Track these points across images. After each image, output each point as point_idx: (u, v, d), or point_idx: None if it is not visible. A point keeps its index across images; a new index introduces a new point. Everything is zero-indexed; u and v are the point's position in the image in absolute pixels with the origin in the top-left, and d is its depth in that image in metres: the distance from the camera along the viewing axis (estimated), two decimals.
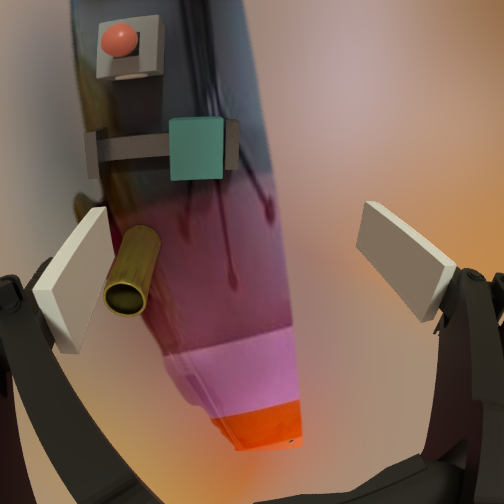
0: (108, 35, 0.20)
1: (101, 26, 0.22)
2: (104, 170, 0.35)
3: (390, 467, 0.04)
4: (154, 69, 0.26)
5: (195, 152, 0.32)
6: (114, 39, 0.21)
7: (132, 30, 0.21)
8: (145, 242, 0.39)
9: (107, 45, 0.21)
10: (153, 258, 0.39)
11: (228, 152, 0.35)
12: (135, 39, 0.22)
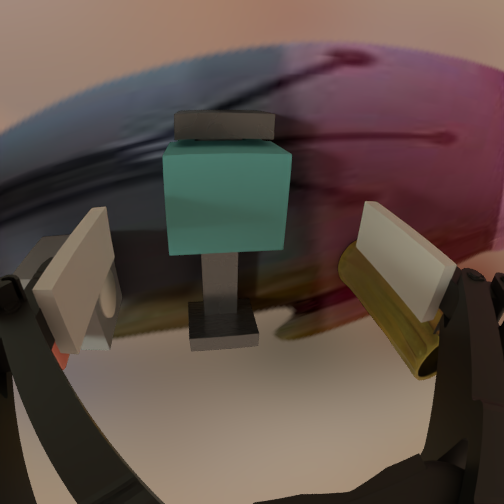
0: None
1: None
2: (250, 316, 0.27)
3: (390, 467, 0.04)
4: None
5: (232, 206, 0.17)
6: None
7: None
8: (369, 273, 0.25)
9: None
10: None
11: (238, 132, 0.17)
12: None
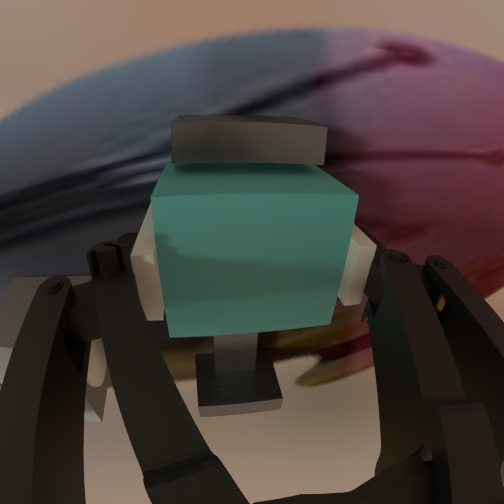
0: None
1: None
2: (271, 374, 0.21)
3: (390, 467, 0.04)
4: None
5: (263, 274, 0.11)
6: None
7: None
8: None
9: None
10: None
11: (272, 153, 0.11)
12: None
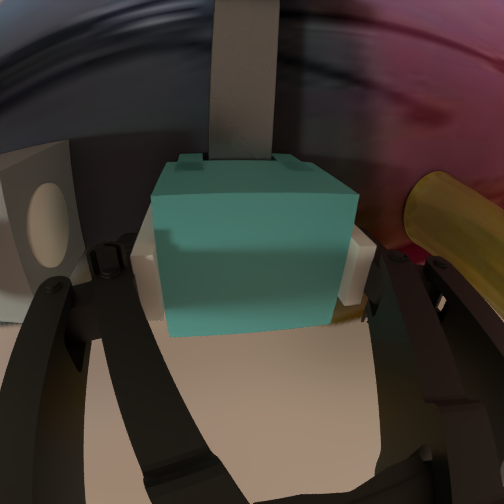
0: None
1: None
2: None
3: (390, 467, 0.04)
4: None
5: (264, 273, 0.11)
6: None
7: None
8: (458, 211, 0.14)
9: None
10: (491, 205, 0.13)
11: None
12: None
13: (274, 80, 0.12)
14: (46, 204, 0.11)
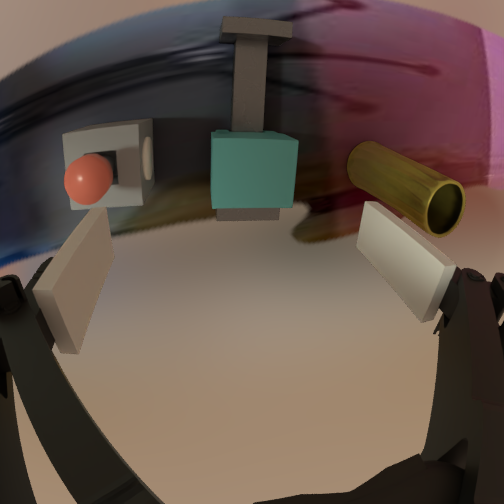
0: (79, 195, 0.19)
1: (75, 206, 0.23)
2: None
3: (390, 467, 0.04)
4: (137, 126, 0.21)
5: (257, 175, 0.24)
6: (85, 186, 0.19)
7: (73, 163, 0.18)
8: (373, 159, 0.28)
9: (92, 194, 0.19)
10: (395, 154, 0.26)
11: (267, 31, 0.20)
12: (87, 156, 0.18)
13: (264, 93, 0.26)
14: (148, 146, 0.24)
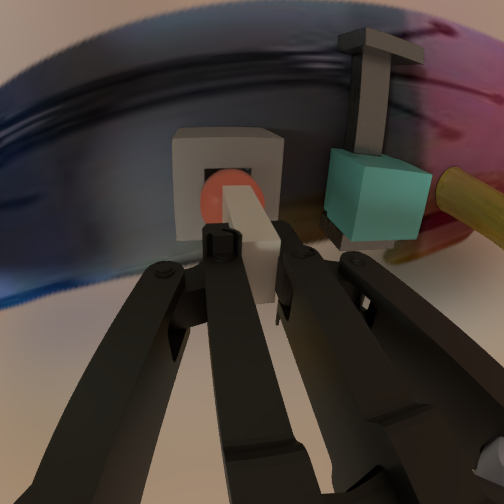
0: None
1: (183, 236, 0.20)
2: None
3: None
4: (282, 141, 0.18)
5: (396, 207, 0.21)
6: None
7: (219, 181, 0.16)
8: (468, 188, 0.25)
9: None
10: (486, 185, 0.24)
11: (404, 53, 0.17)
12: (237, 174, 0.16)
13: (385, 115, 0.23)
14: None
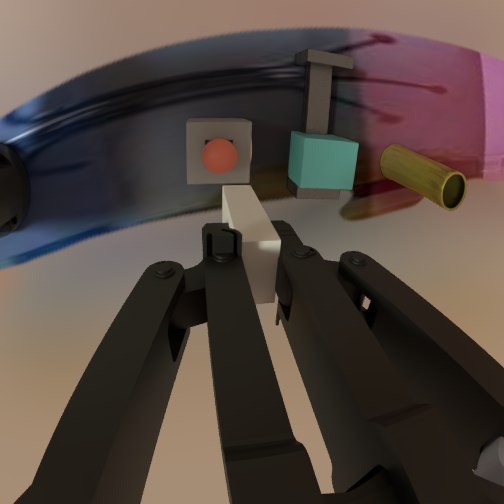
0: (213, 166, 0.30)
1: (191, 181, 0.32)
2: None
3: None
4: (250, 123, 0.30)
5: (332, 165, 0.33)
6: (219, 160, 0.29)
7: (212, 142, 0.28)
8: (401, 157, 0.37)
9: (224, 166, 0.30)
10: (417, 154, 0.36)
11: (337, 63, 0.29)
12: (222, 139, 0.29)
13: None
14: None
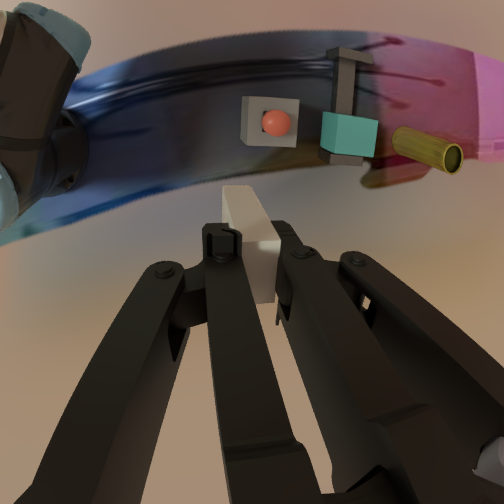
0: (272, 130, 0.36)
1: (250, 143, 0.39)
2: None
3: None
4: (298, 100, 0.37)
5: (358, 136, 0.40)
6: (276, 125, 0.36)
7: (272, 112, 0.35)
8: (410, 135, 0.44)
9: (280, 131, 0.37)
10: (422, 132, 0.43)
11: (360, 58, 0.36)
12: (279, 110, 0.36)
13: (353, 92, 0.42)
14: None
